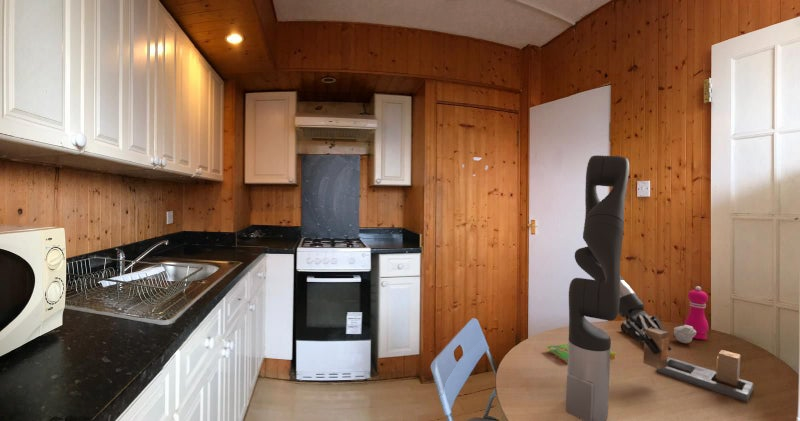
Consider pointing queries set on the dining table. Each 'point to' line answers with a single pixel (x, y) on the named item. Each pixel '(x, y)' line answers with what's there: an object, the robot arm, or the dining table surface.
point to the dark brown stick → (629, 333)
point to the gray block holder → (713, 375)
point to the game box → (566, 352)
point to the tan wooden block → (662, 342)
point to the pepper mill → (697, 313)
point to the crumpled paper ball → (684, 333)
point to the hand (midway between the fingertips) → (663, 351)
